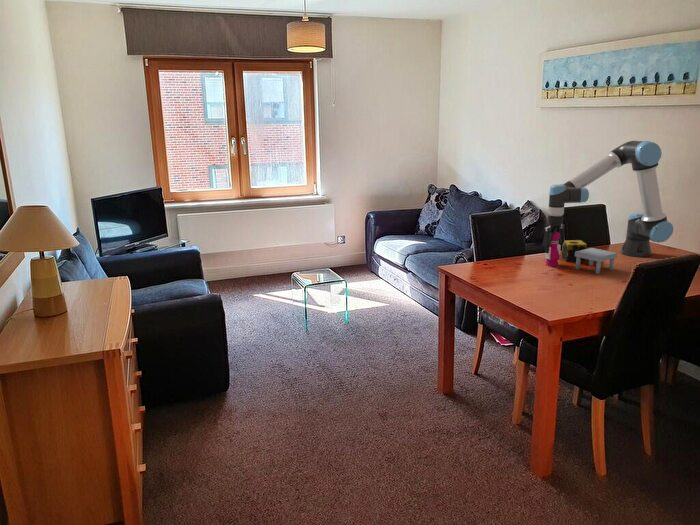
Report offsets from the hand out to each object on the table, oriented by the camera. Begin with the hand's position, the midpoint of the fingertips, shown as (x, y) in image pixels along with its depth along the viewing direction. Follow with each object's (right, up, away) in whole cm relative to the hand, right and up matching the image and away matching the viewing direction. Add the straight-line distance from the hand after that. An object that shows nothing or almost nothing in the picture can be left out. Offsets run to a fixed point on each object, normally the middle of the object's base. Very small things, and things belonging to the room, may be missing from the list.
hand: (552, 257), depth 273 cm
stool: (+18, -6, -9) cm, 21 cm away
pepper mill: (0, -4, +1) cm, 4 cm away
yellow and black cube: (+15, -1, +10) cm, 19 cm away
